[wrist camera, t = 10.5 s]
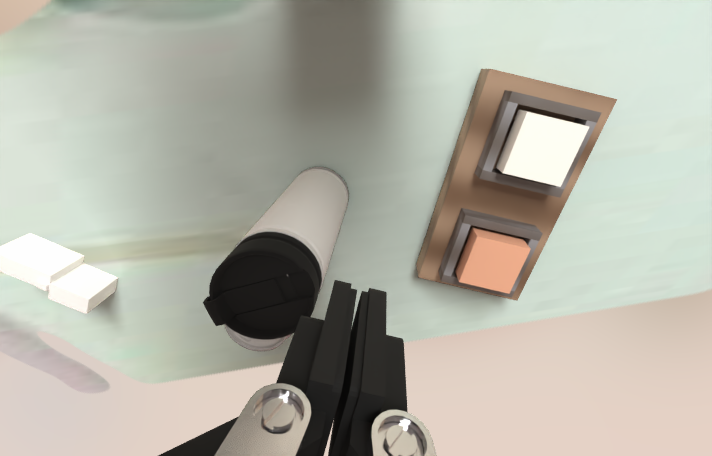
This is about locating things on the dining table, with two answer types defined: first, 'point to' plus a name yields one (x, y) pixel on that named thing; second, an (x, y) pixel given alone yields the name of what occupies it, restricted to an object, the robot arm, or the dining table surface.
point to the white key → (541, 148)
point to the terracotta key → (491, 260)
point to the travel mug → (281, 259)
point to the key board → (504, 175)
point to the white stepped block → (56, 272)
